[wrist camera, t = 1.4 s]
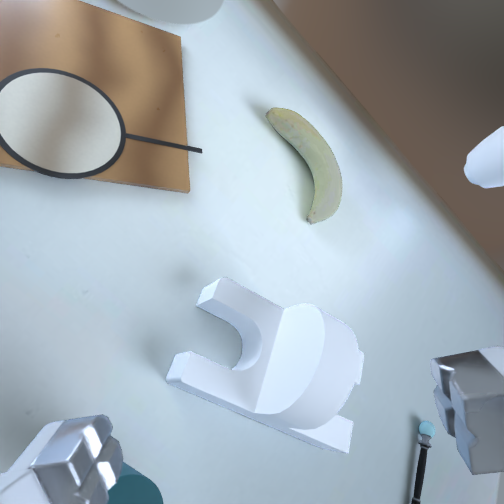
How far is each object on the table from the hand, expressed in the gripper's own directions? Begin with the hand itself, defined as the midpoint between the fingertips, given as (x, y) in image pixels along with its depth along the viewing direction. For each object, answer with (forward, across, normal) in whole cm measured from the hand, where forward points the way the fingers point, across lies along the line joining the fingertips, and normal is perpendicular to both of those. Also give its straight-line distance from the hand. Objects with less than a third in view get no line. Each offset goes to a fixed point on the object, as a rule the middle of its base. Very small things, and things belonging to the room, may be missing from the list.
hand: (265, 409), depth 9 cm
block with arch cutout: (+26, +4, +15) cm, 30 cm away
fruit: (+43, -3, -2) cm, 43 cm away
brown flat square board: (+32, +15, -15) cm, 38 cm away
